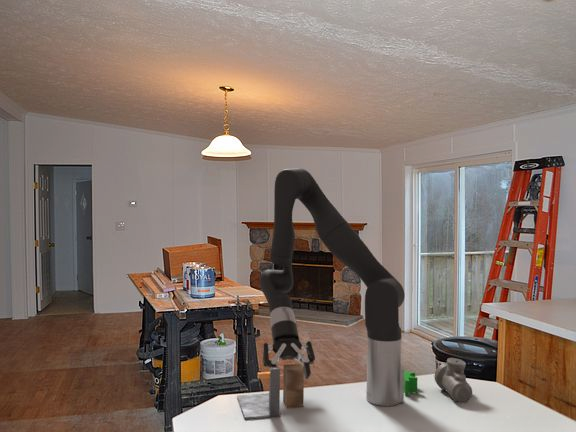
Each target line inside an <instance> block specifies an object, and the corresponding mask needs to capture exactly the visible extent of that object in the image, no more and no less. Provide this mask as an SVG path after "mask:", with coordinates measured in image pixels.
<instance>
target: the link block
mask: <svg viewBox="0 0 576 432" xmlns="http://www.w3.org/2000/svg"><path fill="white" fill-rule="evenodd" d="M282 378H283V379H282V380H283V382H282V383H283V385H282V390H283V391H282V404H283V405H284V406H285V408H286V409H293V408H304V393H305V392H304V386H305V385H304V384H305V383H304V382H305V375H304V369H303V365H301V363H295V364H292V363H291V364H290V363H289V364H283V377H282Z"/></svg>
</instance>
